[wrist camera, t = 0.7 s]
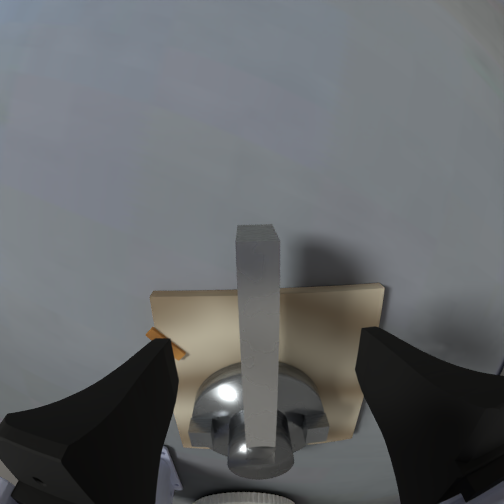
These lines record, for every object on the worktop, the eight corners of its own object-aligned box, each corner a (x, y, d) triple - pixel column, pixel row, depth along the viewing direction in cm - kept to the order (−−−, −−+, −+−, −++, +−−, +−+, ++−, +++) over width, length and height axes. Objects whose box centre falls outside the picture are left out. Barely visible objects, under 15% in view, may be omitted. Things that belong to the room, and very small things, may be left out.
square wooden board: (349, 431, 25) (352, 440, 24) (177, 439, 25) (175, 449, 23) (379, 282, 21) (386, 289, 19) (144, 290, 20) (138, 298, 19)
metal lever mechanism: (312, 439, 23) (324, 488, 18) (202, 444, 23) (197, 494, 18) (335, 216, 18) (373, 238, 12) (170, 221, 18) (138, 245, 12)
